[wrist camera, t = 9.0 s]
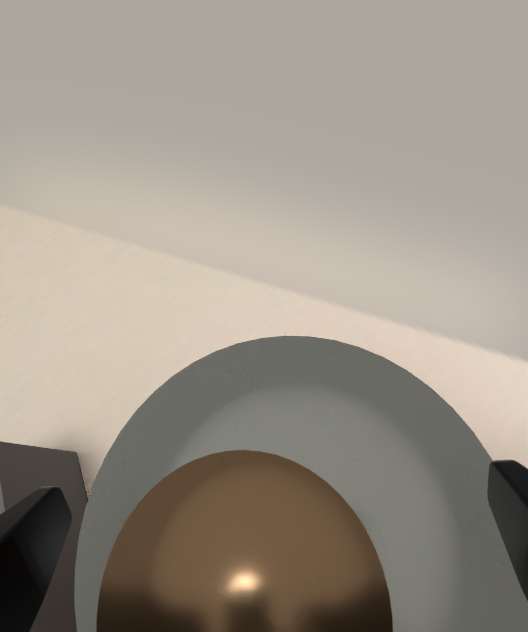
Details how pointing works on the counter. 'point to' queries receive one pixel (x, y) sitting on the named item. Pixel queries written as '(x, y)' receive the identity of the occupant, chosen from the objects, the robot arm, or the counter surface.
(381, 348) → the counter surface
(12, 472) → the block
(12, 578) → the robot arm
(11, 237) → the counter surface
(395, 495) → the lid
